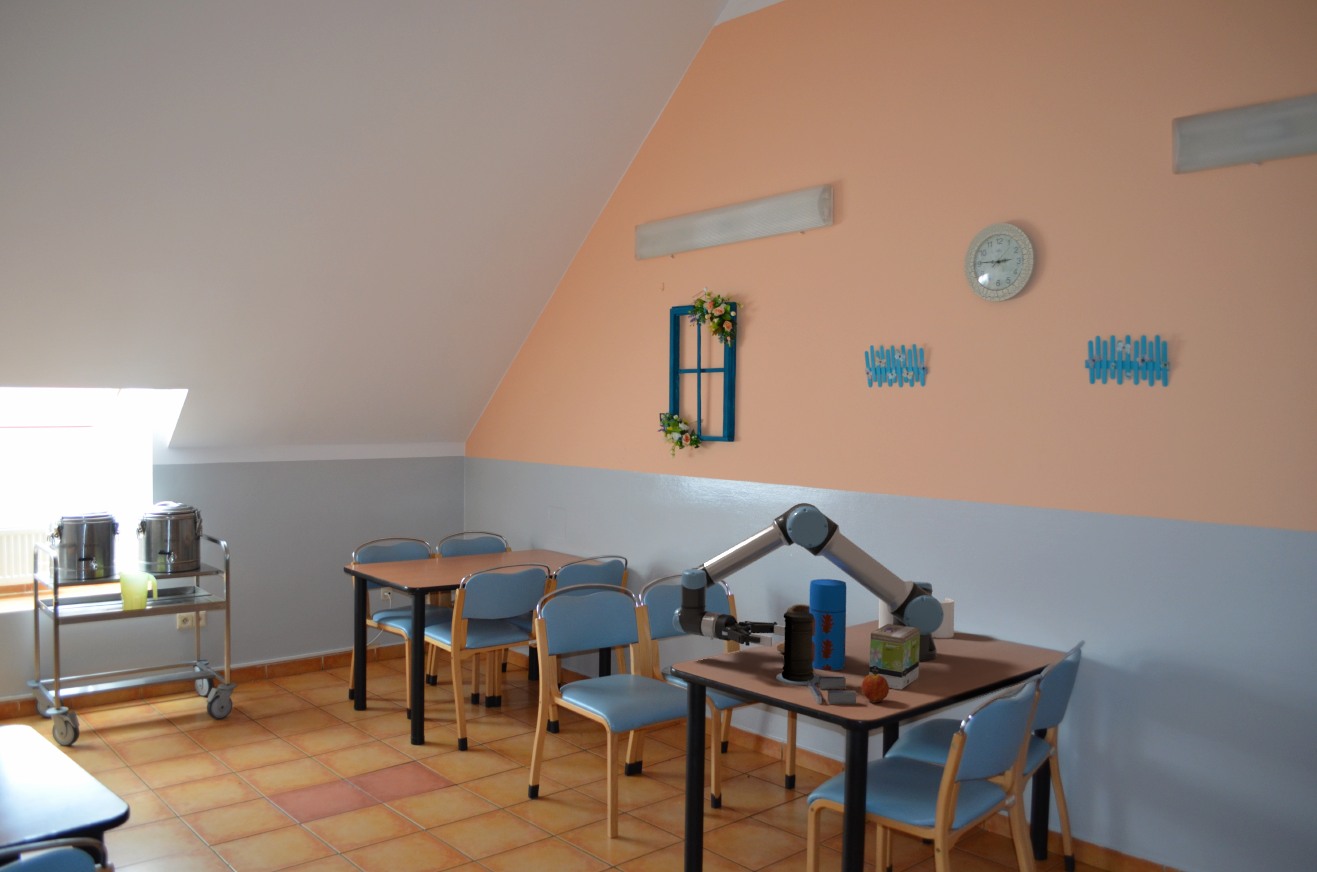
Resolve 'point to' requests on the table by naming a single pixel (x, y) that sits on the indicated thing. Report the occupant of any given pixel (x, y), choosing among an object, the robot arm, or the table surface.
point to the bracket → (942, 632)
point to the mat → (800, 683)
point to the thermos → (828, 623)
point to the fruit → (875, 687)
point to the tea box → (895, 654)
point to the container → (798, 646)
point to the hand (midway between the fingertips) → (783, 637)
